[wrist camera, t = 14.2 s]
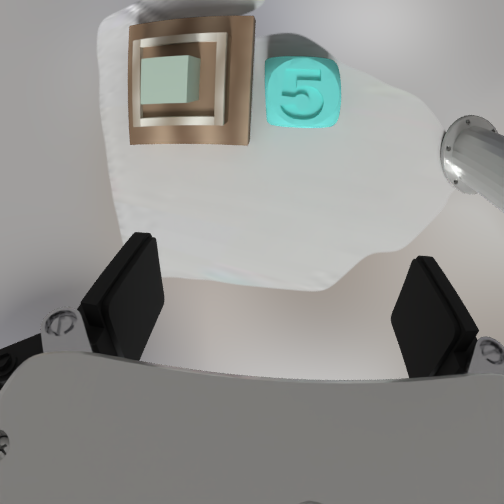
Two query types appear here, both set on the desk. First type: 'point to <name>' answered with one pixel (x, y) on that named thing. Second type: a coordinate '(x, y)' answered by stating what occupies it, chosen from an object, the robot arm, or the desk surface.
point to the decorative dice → (302, 91)
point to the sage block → (170, 79)
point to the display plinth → (237, 82)
